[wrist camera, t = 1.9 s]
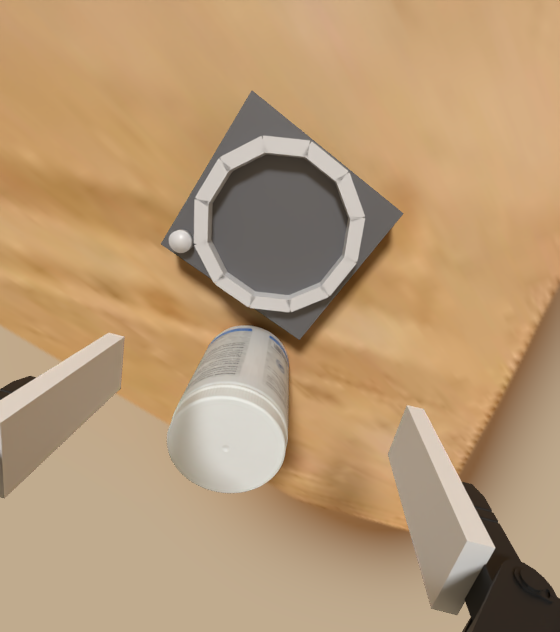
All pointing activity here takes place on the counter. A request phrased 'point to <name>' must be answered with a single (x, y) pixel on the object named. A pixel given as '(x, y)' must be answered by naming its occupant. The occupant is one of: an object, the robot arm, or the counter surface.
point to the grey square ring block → (278, 219)
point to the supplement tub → (234, 413)
